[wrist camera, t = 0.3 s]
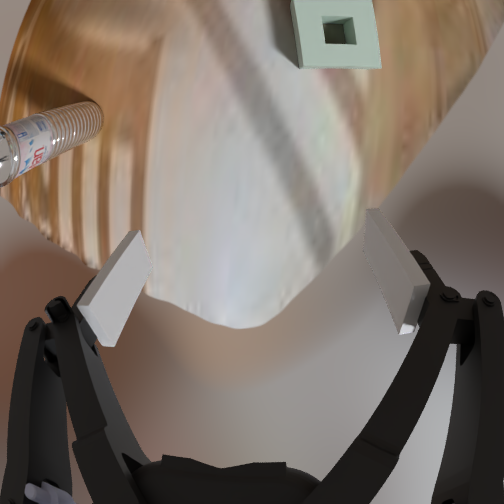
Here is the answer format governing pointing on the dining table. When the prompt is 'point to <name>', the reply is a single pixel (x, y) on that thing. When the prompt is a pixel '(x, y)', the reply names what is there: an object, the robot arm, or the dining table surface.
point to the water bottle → (46, 137)
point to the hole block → (355, 30)
